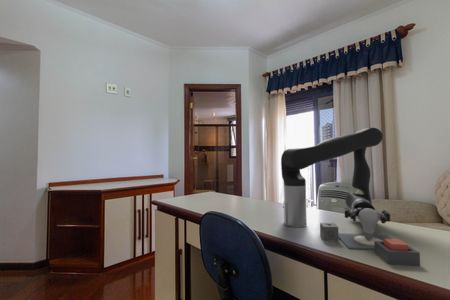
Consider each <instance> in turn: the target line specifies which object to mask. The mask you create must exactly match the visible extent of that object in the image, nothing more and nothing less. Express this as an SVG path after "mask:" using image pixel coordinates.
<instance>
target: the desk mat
mask: <svg viewBox="0 0 450 300" xmlns="http://www.w3.org/2000/svg"><path fill="white" fill-rule="evenodd" d="M338 235H339V240H340V241H341V243H342V244H343V245H344V246H345V247H346V248H347V249H349V250H365V251H366V250H367V251H369V250H371V251H375V245H374V241H384V239H393V238H392V237H391V236H390V235H387V234H379V233H378V234H374V233H373V239H371V240H367V239H366V238H365V236H364V233H345V232H344V233H342V232H341V233H340V232H338Z"/></svg>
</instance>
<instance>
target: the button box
mask: <svg viewBox="0 0 450 300" xmlns="http://www.w3.org/2000/svg"><path fill="white" fill-rule="evenodd" d="M374 245H375V250H374V253H375V254H376V255H377V256H378V257H379V258H381V259H382V260H383V261H384V262H385V263H386V262H387V263H386V264H388V265H398V266H403V265H404V266H420V265H421V254H420V251H418V250H416V249H414V248H413V247H411V246H409V245H408V251H400V250H389V249H388V248H386V247H385V246H384V241H374Z"/></svg>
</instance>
